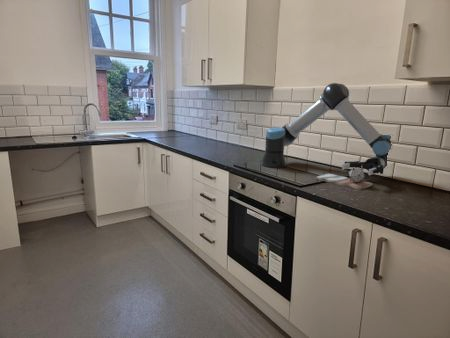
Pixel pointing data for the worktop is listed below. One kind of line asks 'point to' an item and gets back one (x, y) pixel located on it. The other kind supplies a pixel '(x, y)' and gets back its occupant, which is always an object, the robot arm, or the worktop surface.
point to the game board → (343, 181)
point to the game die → (356, 174)
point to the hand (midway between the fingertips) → (355, 169)
